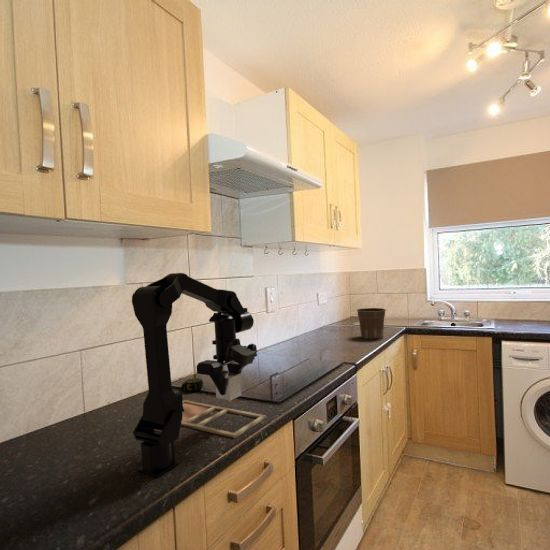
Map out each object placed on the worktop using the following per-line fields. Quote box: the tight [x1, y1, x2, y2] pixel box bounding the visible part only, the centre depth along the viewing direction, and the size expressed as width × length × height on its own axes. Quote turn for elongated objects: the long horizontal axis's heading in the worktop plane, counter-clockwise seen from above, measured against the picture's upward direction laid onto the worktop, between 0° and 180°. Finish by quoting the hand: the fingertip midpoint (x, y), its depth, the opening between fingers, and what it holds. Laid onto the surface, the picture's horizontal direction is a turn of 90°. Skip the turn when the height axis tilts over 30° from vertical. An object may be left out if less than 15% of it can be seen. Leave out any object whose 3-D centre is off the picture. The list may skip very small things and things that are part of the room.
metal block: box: [215, 372, 243, 401], centre depth 106 cm, size 5×5×6 cm
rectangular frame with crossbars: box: [181, 399, 267, 439], centre depth 111 cm, size 14×32×1 cm, turn 58°
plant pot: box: [356, 307, 387, 340], centre depth 217 cm, size 16×16×16 cm
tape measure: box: [180, 377, 204, 392], centre depth 138 cm, size 7×7×4 cm
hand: (228, 391), depth 106 cm, fingers closed on metal block, 5 cm apart
